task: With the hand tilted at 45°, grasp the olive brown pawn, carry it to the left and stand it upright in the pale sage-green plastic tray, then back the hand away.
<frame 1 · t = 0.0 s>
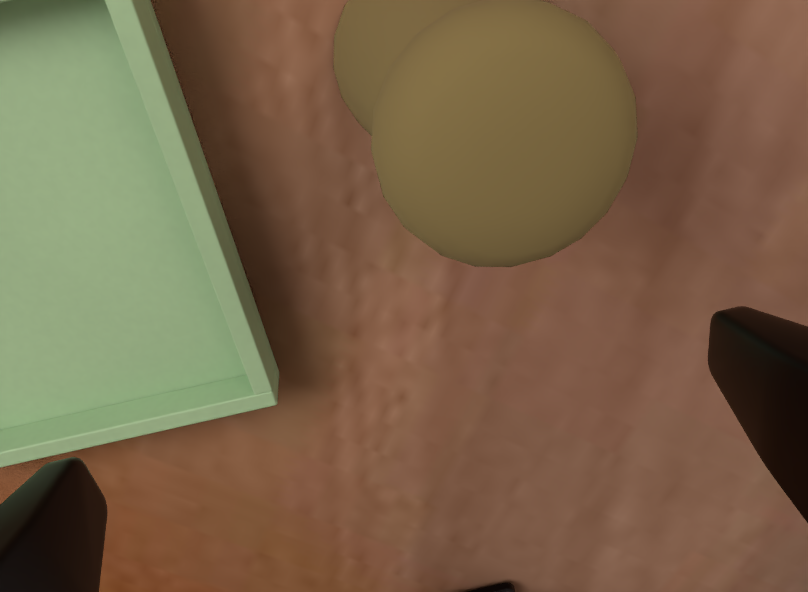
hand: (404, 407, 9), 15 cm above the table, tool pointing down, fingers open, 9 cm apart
olive brown pawn: (426, 57, 21), on the table
tray: (25, 238, 22), on the table
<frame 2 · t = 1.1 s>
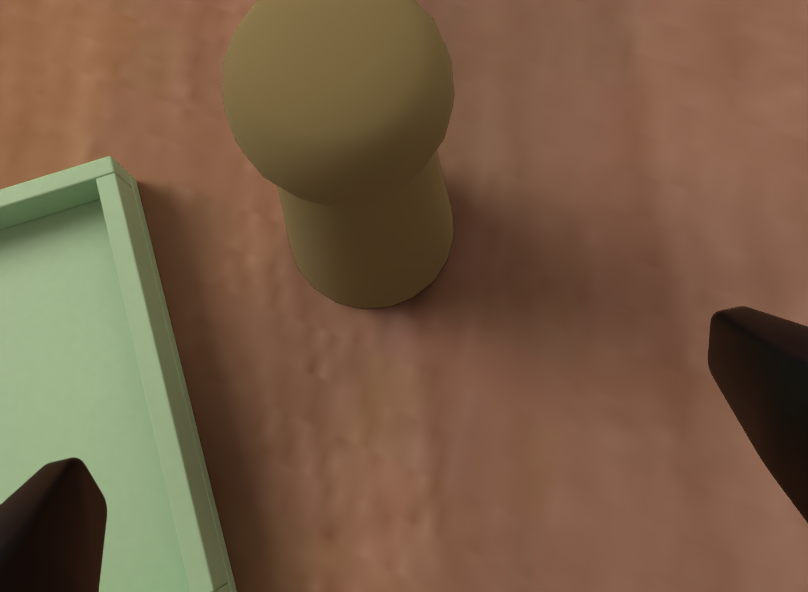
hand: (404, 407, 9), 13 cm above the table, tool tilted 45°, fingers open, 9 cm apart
olive brown pawn: (371, 230, 24), on the table
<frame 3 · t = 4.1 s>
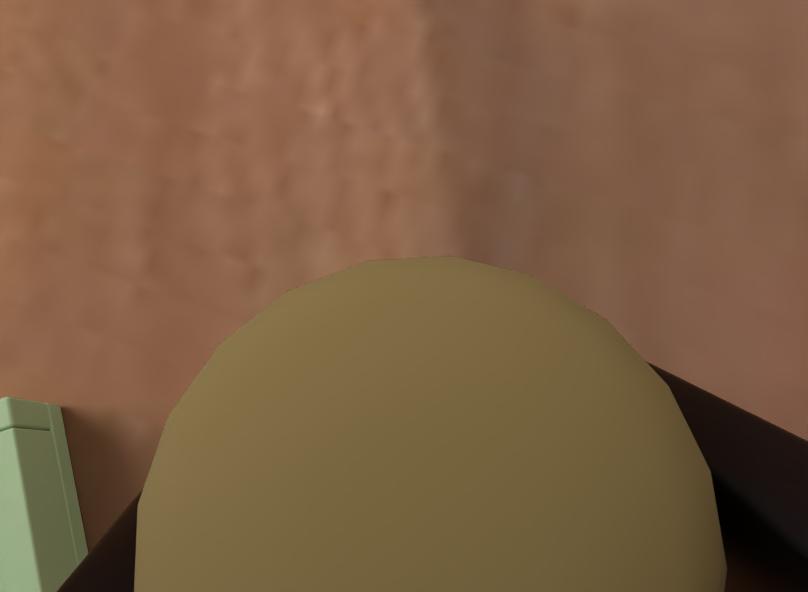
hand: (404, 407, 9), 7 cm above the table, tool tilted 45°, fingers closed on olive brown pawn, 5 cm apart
olive brown pawn: (425, 489, 15), on the table, touching gripper
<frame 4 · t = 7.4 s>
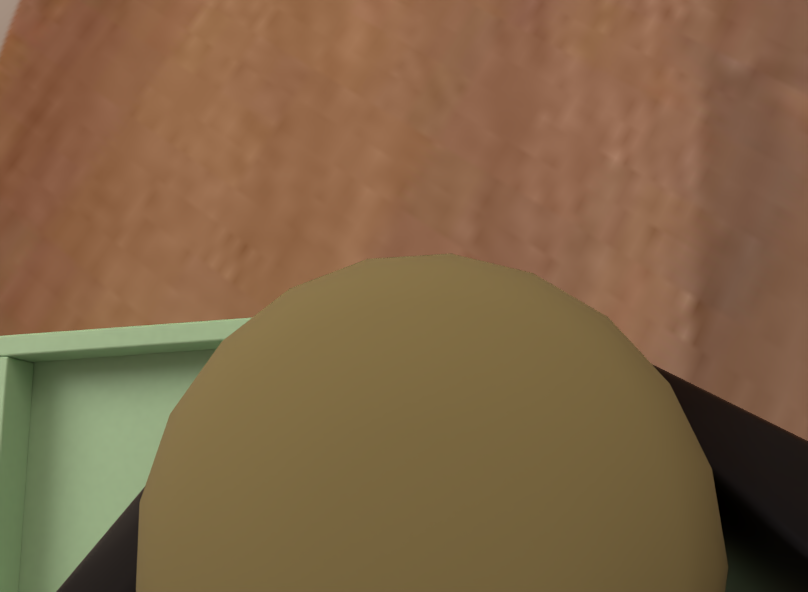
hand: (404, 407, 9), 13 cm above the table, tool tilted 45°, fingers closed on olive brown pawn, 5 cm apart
olive brown pawn: (425, 489, 15), point 7 cm above the table, touching gripper
tray: (213, 566, 21), on the table
when the fingers open (7 cm above the table, at t = 10.8 s): olive brown pawn stays where it is, resting on tray.
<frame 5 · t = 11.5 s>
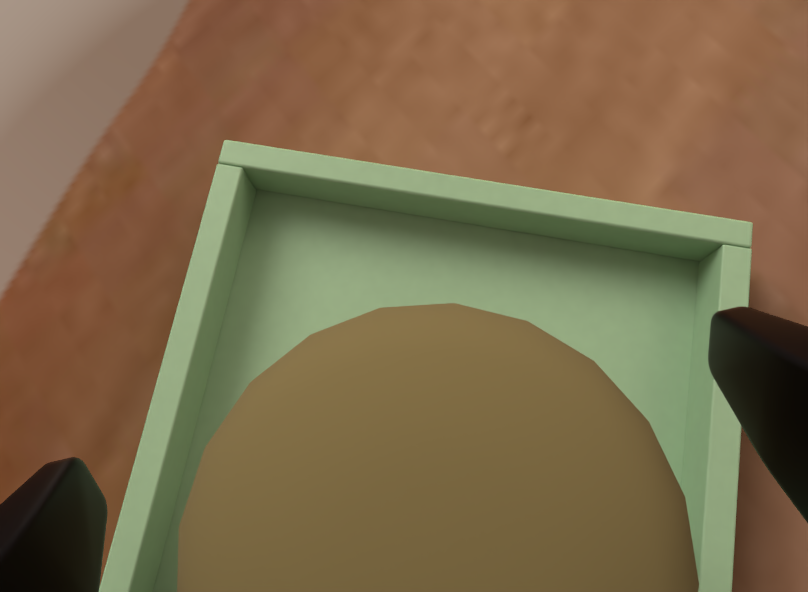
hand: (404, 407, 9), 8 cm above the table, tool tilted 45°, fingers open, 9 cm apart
olive brown pawn: (428, 500, 16), resting on tray
tray: (426, 490, 17), on the table
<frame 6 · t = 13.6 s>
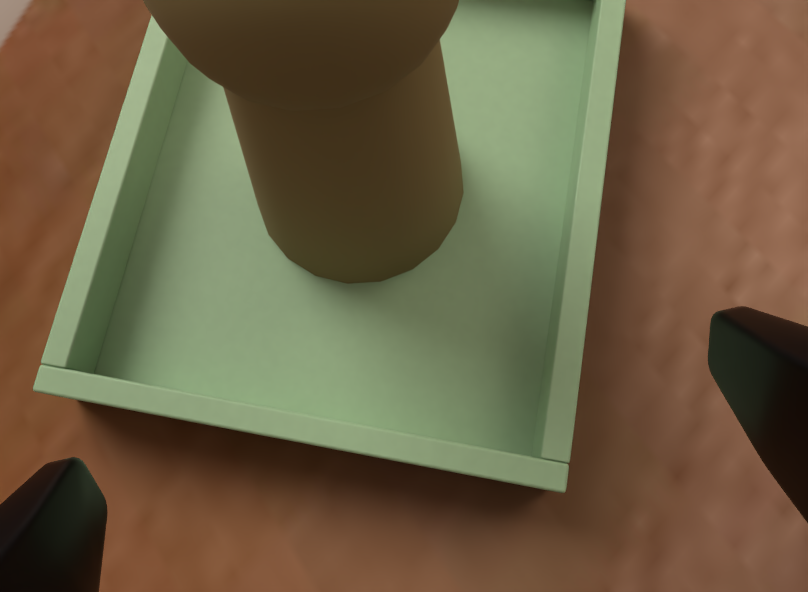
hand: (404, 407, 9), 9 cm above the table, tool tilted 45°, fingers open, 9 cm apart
olive brown pawn: (360, 186, 19), resting on tray
tray: (361, 185, 20), on the table
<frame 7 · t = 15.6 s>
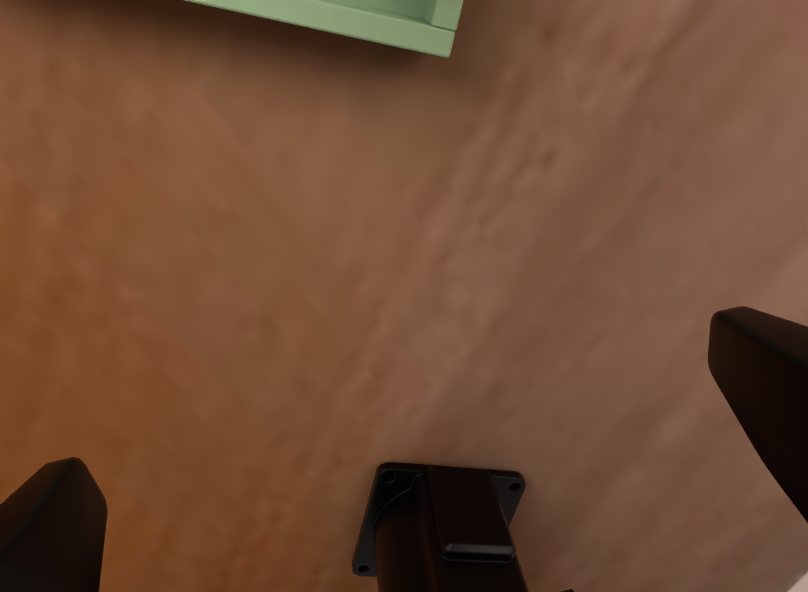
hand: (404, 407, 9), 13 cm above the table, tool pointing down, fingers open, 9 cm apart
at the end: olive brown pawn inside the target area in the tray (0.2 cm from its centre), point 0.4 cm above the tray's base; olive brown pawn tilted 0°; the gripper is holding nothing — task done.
